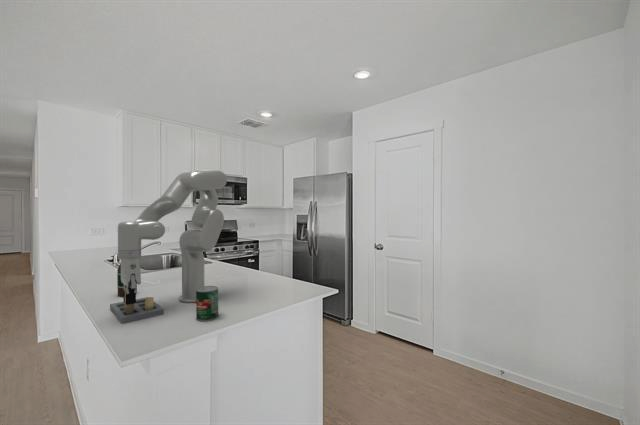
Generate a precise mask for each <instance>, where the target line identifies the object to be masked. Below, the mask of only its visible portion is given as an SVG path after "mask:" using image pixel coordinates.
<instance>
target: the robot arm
mask: <svg viewBox="0 0 640 425" xmlns="http://www.w3.org/2000/svg"><path fill="white" fill-rule="evenodd" d="M227 182H228V178H227V175H226V174H225V173H224V171H221V170H218V169H217V170H206V171H189V172H182V173H179V174H177V176H176V178H175V179H174V180H173V181H172V182H171V184H170V185H169V187H167V189H166V190H165V191H164V193H163V194H162V195H161V196H160V197H159V198H157V199H156V200H155V201H154V202H152V203H151V204H149V206H147V207H146V208H145V209H144V210H143V211H142V212H141V213H140V214H139V216H138V217H136V219H135V221H121V222H119V223H118V225H117V260H120V264H121V282H122V283H123V284H124V297H123V302H124V303H125V287H127V294H126V305H129V304H134V303H136V299H137V293H136V283H137V285H140V284H142V279H141V278H142V277H141V276H142V274H141V262H140V259H141V258H142V240H149V241H150V240H151V241H152V240H153V241H154V240H158V239H160V238H162V237H163V236H164V235H165V232H166V228H165V226H164V224H163V223H162V222H160V220H161V219H162V218H164V217H165V216H167V215H169V214H172V213H174V212H175V211H178V210H179V209H180V208H182V206H183V205H184V203H185V202H186V200H187V199H188V197H189V196H190V195H191V193H192V192H199V200H198V202H197V204H196V206H195V210H194V211H193V214H192V216H191V225H192V226H193V227H194V228H197V229H188V230H185V231H183V233H182V234H181V235H180V237H179V241H178V243H179V249H180V254H181V295H180V296H178V299H177V300H178V302H180V303H187V304H188V303H196V289H197V288H200V287H204V286H205V255H204V253H207V252H211V251H212V250H213V249H214V248H215V246H216V245H217V242H218V241H219V237H220V235H221V232H222V229H223V227H224V224H225V216H224V214H223V212H222V211H221V210H220V209H219V208H217V207H218V204H219V196H218V194H217V190H220V189H223V188H224V187H225V186H226V184H228V183H227ZM129 287H130V288H129Z"/></svg>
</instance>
